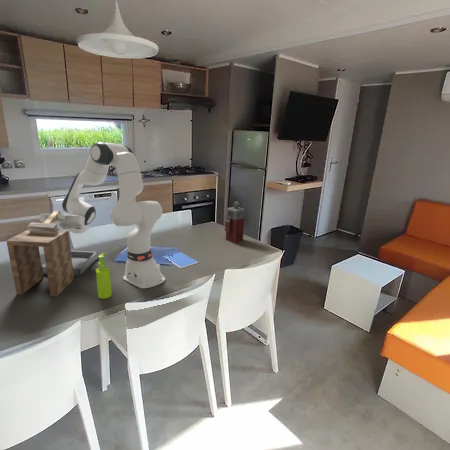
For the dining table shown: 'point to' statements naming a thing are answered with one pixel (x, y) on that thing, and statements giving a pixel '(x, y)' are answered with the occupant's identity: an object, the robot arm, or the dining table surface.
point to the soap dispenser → (103, 278)
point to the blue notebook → (181, 260)
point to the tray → (79, 261)
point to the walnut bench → (31, 263)
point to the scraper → (45, 225)
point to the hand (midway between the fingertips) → (53, 215)
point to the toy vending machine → (235, 223)
